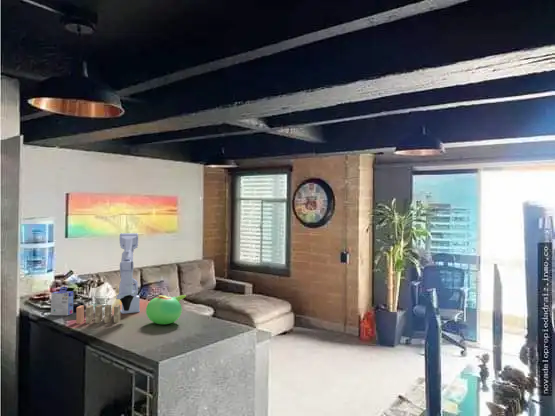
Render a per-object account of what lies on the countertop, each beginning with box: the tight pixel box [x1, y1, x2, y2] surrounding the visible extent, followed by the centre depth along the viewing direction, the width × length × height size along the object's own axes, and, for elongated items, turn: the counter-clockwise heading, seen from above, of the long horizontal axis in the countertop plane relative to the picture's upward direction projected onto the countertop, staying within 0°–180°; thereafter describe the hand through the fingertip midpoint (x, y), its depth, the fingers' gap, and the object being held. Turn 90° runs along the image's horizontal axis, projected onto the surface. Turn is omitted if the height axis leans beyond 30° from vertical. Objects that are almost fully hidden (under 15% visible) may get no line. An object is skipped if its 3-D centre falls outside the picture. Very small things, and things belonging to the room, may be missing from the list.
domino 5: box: [113, 304, 121, 324], centre depth 214 cm, size 2×5×8 cm, turn 7°
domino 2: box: [85, 304, 94, 324], centre depth 212 cm, size 2×5×8 cm, turn 7°
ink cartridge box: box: [50, 286, 74, 316], centre depth 227 cm, size 10×6×14 cm, turn 89°
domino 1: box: [75, 305, 85, 325], centre depth 211 cm, size 2×5×8 cm, turn 7°
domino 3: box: [94, 304, 103, 324], centre depth 213 cm, size 2×5×8 cm, turn 7°
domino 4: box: [104, 304, 112, 324], centre depth 213 cm, size 2×5×8 cm, turn 7°
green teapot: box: [145, 294, 187, 325], centre depth 210 cm, size 18×17×15 cm
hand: (126, 310), depth 214 cm, fingers closed
